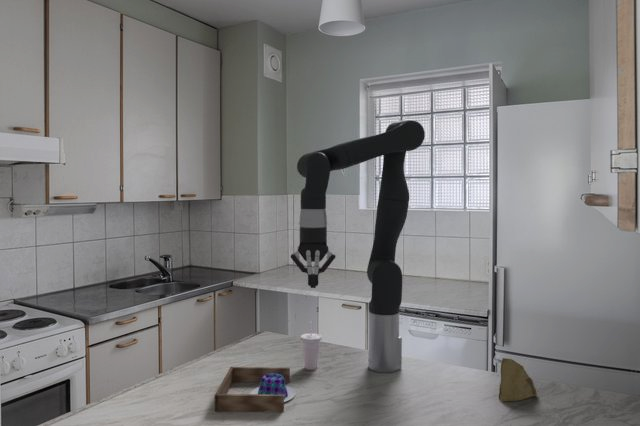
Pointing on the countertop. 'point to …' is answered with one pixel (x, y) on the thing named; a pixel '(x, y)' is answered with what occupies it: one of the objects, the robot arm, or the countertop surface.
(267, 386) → the pudding
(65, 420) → the countertop surface
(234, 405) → the box
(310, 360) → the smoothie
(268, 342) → the countertop surface
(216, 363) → the countertop surface
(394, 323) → the robot arm
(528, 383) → the rock
